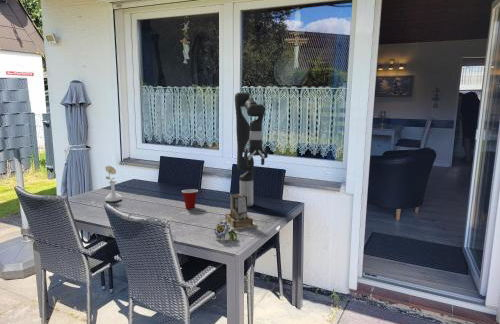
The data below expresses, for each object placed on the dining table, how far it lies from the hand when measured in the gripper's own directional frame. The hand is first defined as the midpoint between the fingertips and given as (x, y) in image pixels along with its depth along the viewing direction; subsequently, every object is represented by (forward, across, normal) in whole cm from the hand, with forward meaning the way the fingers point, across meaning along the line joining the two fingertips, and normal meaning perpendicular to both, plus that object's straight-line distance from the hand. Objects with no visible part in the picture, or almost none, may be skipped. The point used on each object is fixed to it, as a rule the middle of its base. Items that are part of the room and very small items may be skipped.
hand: (255, 165), depth 220 cm
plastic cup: (+32, -33, +34) cm, 57 cm away
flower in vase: (+32, -80, +72) cm, 112 cm away
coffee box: (+31, -14, -8) cm, 35 cm away
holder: (+32, -14, -8) cm, 36 cm away
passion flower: (+32, -28, -26) cm, 50 cm away
